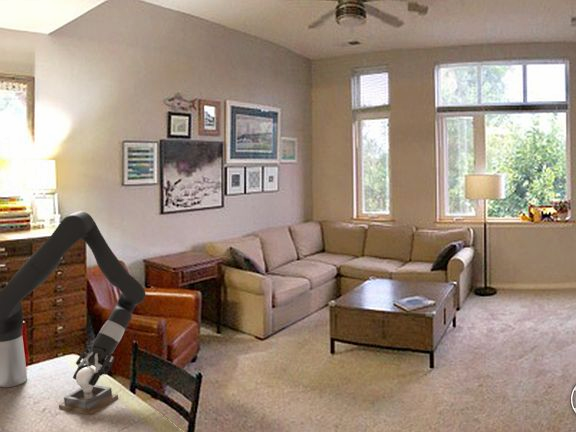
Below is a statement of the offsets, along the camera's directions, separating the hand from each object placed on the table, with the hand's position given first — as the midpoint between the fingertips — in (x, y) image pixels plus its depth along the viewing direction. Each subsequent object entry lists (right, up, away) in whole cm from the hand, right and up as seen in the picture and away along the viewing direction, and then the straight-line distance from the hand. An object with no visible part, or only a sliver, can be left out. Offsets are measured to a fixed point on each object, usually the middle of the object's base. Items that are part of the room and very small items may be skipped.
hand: (83, 382), depth 167 cm
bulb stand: (+1, -7, +2) cm, 8 cm away
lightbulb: (+1, -7, +2) cm, 7 cm away
